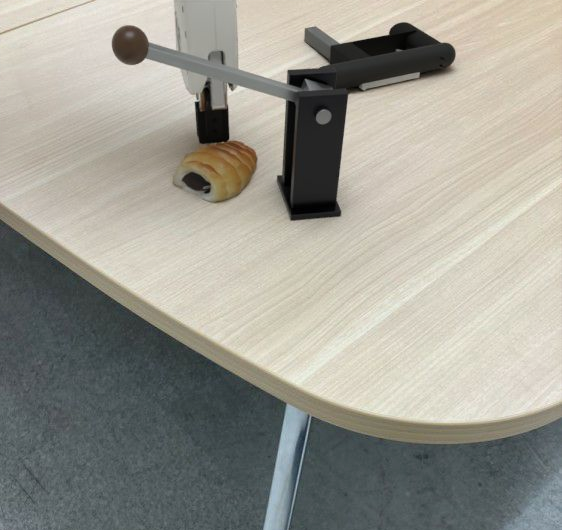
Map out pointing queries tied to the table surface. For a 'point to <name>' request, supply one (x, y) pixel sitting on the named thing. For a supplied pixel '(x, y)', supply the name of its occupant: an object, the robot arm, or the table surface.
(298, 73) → the black lever stand
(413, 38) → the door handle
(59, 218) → the table surface
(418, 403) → the table surface
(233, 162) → the pastry
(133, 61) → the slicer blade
